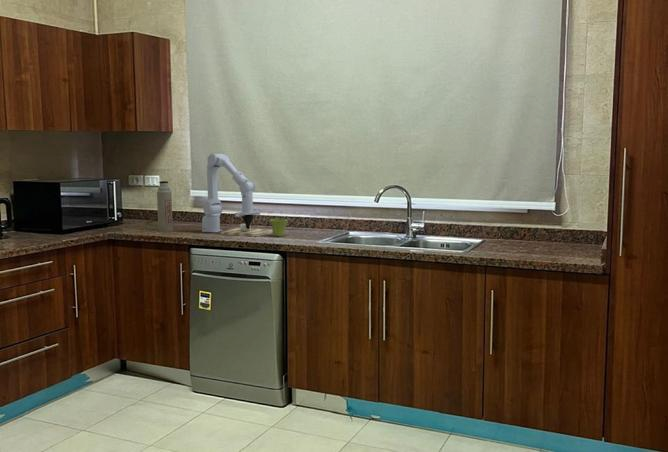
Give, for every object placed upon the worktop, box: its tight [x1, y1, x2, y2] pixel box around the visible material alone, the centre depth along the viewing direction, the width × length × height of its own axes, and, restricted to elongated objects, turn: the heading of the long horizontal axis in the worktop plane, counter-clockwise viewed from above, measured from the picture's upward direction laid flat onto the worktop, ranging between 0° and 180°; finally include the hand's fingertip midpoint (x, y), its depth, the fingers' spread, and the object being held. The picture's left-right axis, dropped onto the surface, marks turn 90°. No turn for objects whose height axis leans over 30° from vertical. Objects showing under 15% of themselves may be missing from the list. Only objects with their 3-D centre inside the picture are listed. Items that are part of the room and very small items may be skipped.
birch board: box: [220, 227, 273, 238], centre depth 370 cm, size 22×18×2 cm
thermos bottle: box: [156, 180, 174, 232], centre depth 382 cm, size 8×8×28 cm
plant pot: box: [269, 218, 288, 237], centre depth 361 cm, size 9×9×9 cm
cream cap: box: [239, 223, 251, 231], centre depth 368 cm, size 10×6×3 cm, turn 3°
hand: (247, 228), depth 365 cm, fingers closed
